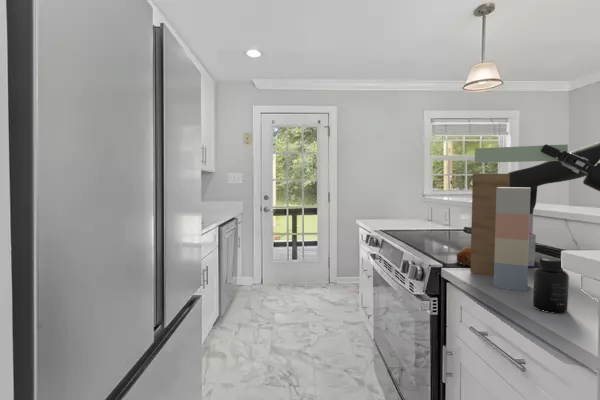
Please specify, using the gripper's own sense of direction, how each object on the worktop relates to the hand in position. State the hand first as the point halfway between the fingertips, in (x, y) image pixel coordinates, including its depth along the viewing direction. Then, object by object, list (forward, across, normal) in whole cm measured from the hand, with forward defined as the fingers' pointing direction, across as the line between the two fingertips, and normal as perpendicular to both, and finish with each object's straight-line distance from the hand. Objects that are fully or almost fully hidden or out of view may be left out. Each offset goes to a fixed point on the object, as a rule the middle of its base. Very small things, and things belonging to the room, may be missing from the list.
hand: (542, 148), depth 103 cm
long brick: (+3, 0, +6) cm, 7 cm away
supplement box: (-15, -30, +36) cm, 49 cm away
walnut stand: (-7, -14, +40) cm, 43 cm away
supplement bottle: (-21, +17, +33) cm, 43 cm away
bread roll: (-2, -24, +44) cm, 50 cm away
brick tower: (-13, 0, +37) cm, 39 cm away
